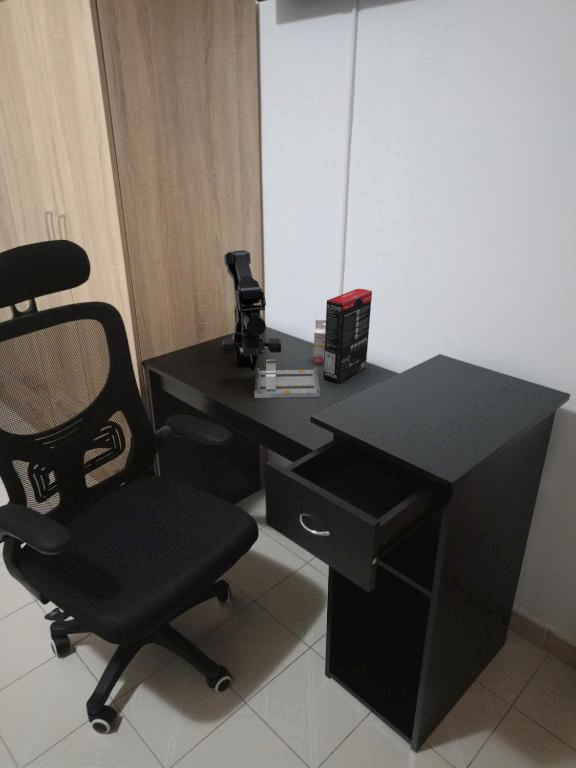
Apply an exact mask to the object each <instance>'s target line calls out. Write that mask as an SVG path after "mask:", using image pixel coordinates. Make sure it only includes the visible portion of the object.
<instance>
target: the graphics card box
mask: <svg viewBox="0 0 576 768" xmlns="http://www.w3.org/2000/svg"><path fill="white" fill-rule="evenodd" d="M372 295H373V290H371V289H365V288H356V289H353V290H350V291H348V292H346V293H343V294H340V295H336V296H334V297H332V298H329V299H327V300H326V311H325V312H326V313H325V320H326V323H325V325H326V329H325V351H324V364H323V376H322V377H323V378H324V379H326V380H329V381H332V382H335V383H338V384H339V383H340V382H343V381H344V380H346V379H348V378H349V377H351V376H353V375H355V374H357V373H359V372H361V371H362V370H365V369H366V368H367V359H368V347H369V346H368V345H369V344H368V343H369V332H370V323H371V322H370V321H371V310H372V300H373V299H372Z"/></svg>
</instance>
